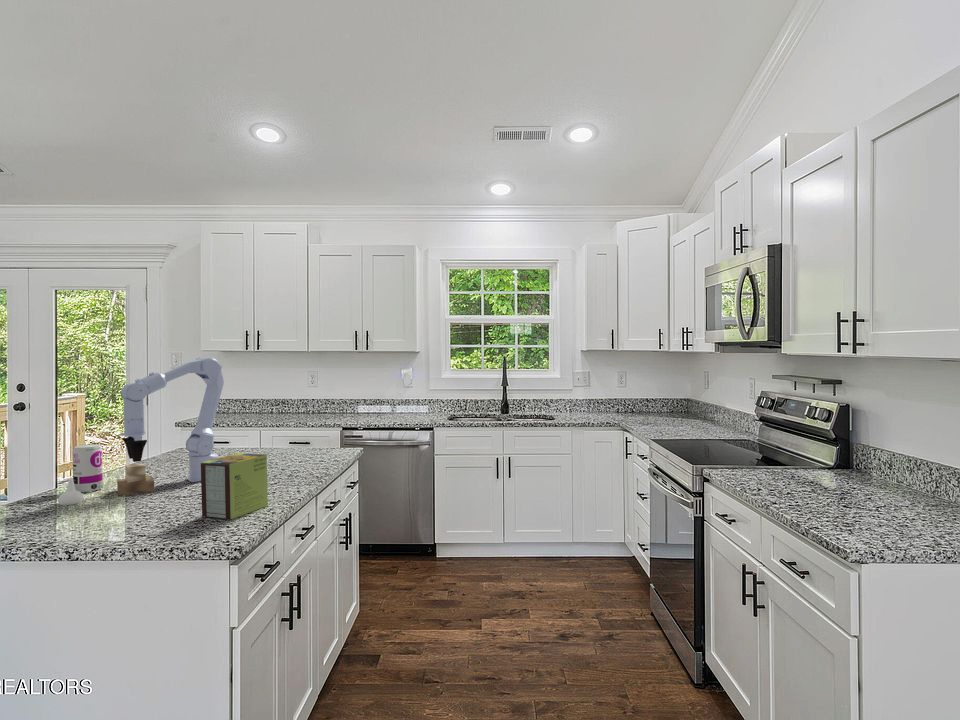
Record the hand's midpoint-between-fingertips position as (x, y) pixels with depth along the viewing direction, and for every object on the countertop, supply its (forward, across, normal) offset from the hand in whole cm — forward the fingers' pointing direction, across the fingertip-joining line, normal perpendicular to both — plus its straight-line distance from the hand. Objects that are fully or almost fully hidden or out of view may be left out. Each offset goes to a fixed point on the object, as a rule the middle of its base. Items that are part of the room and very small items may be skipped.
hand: (135, 459), depth 191 cm
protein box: (+11, +48, +18) cm, 52 cm away
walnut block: (+11, 0, 0) cm, 11 cm away
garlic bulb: (+11, +4, -18) cm, 21 cm away
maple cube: (+7, 0, 0) cm, 7 cm away
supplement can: (+11, -12, -12) cm, 20 cm away
